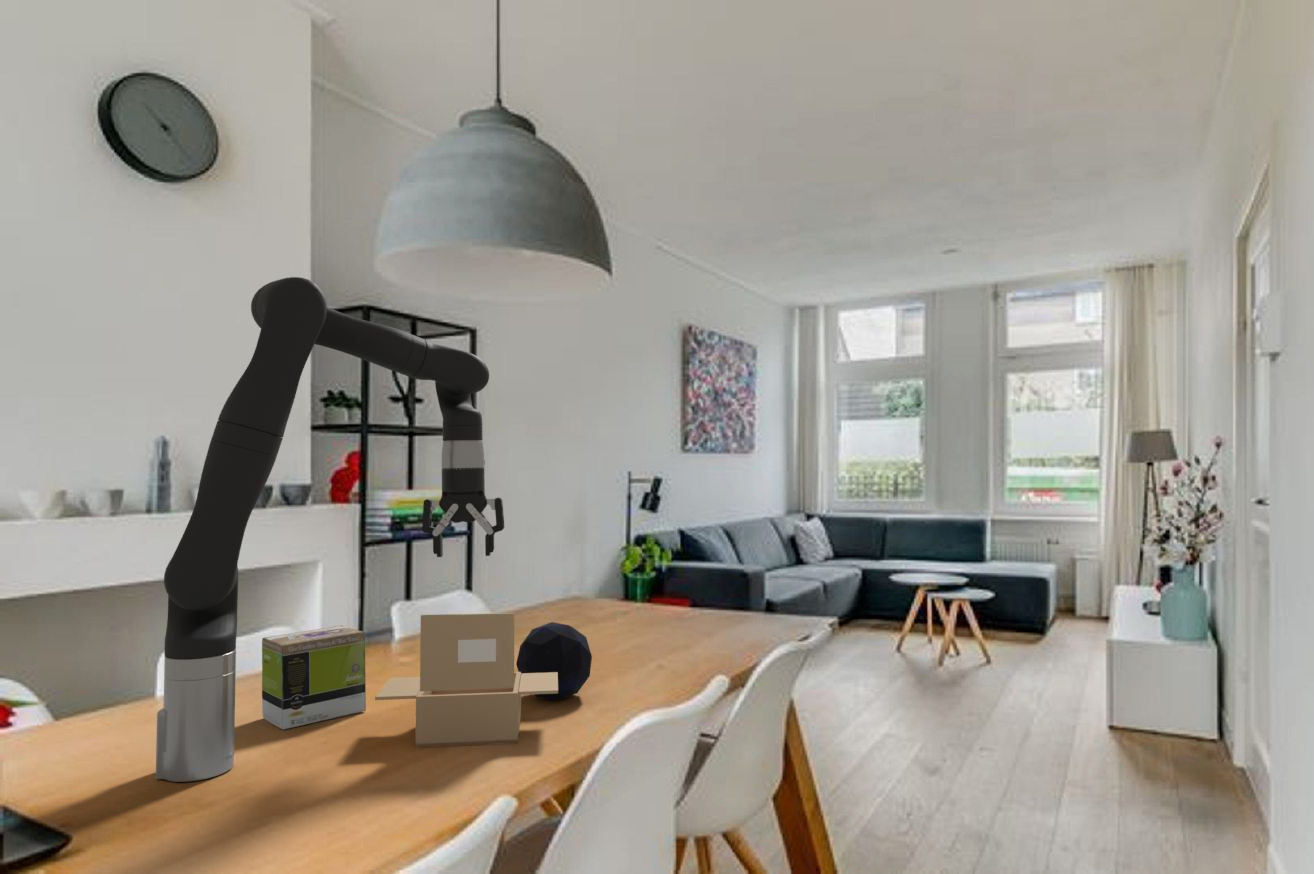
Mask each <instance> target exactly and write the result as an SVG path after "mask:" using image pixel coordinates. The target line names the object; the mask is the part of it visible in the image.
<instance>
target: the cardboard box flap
mask: <svg viewBox="0 0 1314 874" xmlns="http://www.w3.org/2000/svg"><path fill="white" fill-rule="evenodd" d="M515 615H516V614H515V612H500V613H499V612H495V613H491V612H490V613H489V612H488V613H457V614H456V613H453V614H449V613H448V614H445V613H444V614H421V615H420V635H419V636H420V644H419V647H420V649H419V650H420V655H419V656H420V657H419V660H420V661H419V665H420V666H419V677H420V691H448V690H476V689H504V688H514V672H515V618H516V617H515Z"/></svg>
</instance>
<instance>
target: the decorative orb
mask: <svg viewBox="0 0 1314 874" xmlns="http://www.w3.org/2000/svg"><path fill="white" fill-rule="evenodd" d="M592 660H593V656H592V653H591V649H590V645H589V642H588V639H587V636H585V634H583V633H581V632H580V631H578V629H576V628H574V627H573V626H571V625H569V624H565V623H559V622H552V621H551V622H548V623H546V624H542V625H540V626H537V627H534V628H532V629H531V630H530V632H529V633H528V634H527V636H526V637H525V638H524V640H523V641H522V643H521V644H520V645H519V650H518V654H517V659H516V663H515V664H516V667H517V672H521V673H549V672H558V693H555V694H533V695H534V696H535V697H536V698H541V699H544V700H545V699H546V700H551V701H555V702H558V701H561V700H563V699H566V698H569V697H570V696H573V695H575V694H578V692H579V691H580V690H581V689H582V687H583V686H584V684H585V683H586V682H587V681H588V679H589V677H590V675H591V667H592Z"/></svg>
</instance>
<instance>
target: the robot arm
mask: <svg viewBox="0 0 1314 874" xmlns="http://www.w3.org/2000/svg"><path fill="white" fill-rule="evenodd" d="M250 311H251V315H252V318H253V320H254V322H255V324H256V325H257V326H258V327H259V328H260V331H259V335H258V339H257V342H256V347H255V348H254V352H253V355H252V358H251V359H250V361H249V363H248V365H247V367H246V369H245V370H244V372H243V373H242V375H241V377H240V378H239V379H238V381H237V383H236V384H235V385H234V388H233V389H232V391H231V392H230V394H229V395H228V397H227V399H226V400H225V403H224V404H223V407H222V409H221V411H220V413H219V416H218V418H217V422H216V424H215V427H214V429H213V433H212V435H211V439H210V442H209V444H208V445H209V446H208V449H207V453H206V457H205V459H204V463H203V468H202V472H201V475H200V481H199V484H198V488H197V489H198V491H197V495H196V499H195V504H194V507H193V510H192V512H191V515H190V518H189V521H188V523H187V525H186V527H185V530H184V532H183V533H182V537H181V538H180V540H179V542H178V545H177V546H176V549H175V551H174V553H173V554H172V557H171V558H170V560H169V561H168V564H167V565H166V568H165V570H164V576H163V584H164V590H165V592H166V593H167V597H168V599H167V620H166V621H167V622H166V631H165V637H164V653H163V654H164V666H163V667H164V668H163V670H164V671H163V672H164V673H163V675H164V676H163V708H161V709H159V710H158V712H157V713H156V736H155V738H156V740H155V741H156V742H155V746H156V747H155V780H166V781H168V782H176V783H177V782H183V783H184V782H193V781H194V782H195V781H202V780H206V779H211V778H212V777H213V778H214V777H216V776H217V777H218V776H220V775H222V774H224V773H226V772H228V771H230V770H231V769H232V768H233V767H234V766H235V765H234V764H235V728H236V727H235V723H236V722H235V721H236V720H235V719H236V718H235V717H236V713H235V712H236V674H237V673H236V669H237V668H236V665H237V664H236V663H237V659H236V658H237V657H236V655H237V649H236V648H237V632H238V631H237V630H238V628H237V627H238V604H239V603H238V599H239V598H238V596H239V567H238V563H239V558H240V554H241V553H240V552H241V550H242V549H241V547H242V543H243V539H244V537H245V532H246V528H247V526H248V522H249V519H250V517H251V515H252V512H253V510H254V508H255V506H256V504H257V503H258V500H259V498H260V496H261V495H262V492H263V491H264V488H265V486H266V484H267V481H268V480H269V477H270V474H271V473H272V470H273V468H274V465H275V462H276V461H277V457H278V455H279V451H280V448H281V445H282V441H283V438H284V435H285V432H286V428H287V424H288V421H289V418H290V414H291V411H292V408H293V405H294V401H295V399H296V395H297V391H298V387H299V382H300V380H301V377H302V374H303V371H304V369H305V366H306V364H307V361H308V359H309V357H310V354H311V352H312V351H313V348H314V345H318V346H321V347H325V348H328V349H332V350H335V351H338V352H341V353H343V354H347V355H351V356H353V357H355V358H358V359H361V360H364V361H366V362H369V363H372V364H373V365H377V366H380V367H382V368H384V369H387V370H390V371H392V372H395V373H398V374H401V375H404V376H406V377H408V378H412V379H416V380H420V381H434V382H435V383H434V386H435V391H436V397H437V401H438V405H439V409H440V413H441V416H442V417H441V418H442V448H441V497H440V499H432V498H427V499H424V500H423V502H422V503H423V507H422V508H423V509H422V527H421V530H422V532H423V533H424V534H429V535H431V537H432V548H433V549H432V551H433V554H434V555H436V557H437V558H442V557H443V555H444V554H443V553H444V552H443V549H444V548H443V546H444V545H443V535H442V534H443V532H444V530H445V529H446V527H447V526H448V525H449V524H450V522H452V523H461V522H462V523H463V522H465V523H473V522H475V521H476V522H477V523H478V525H479V526H480V527H481V528H482V529H483V531H484V532H485V533H486V534H485V535H484V538H485V539H484V540H485V541H484V547H485V557H489V556H491V555H492V554H491V553H494V550H495V534H496V533H498V532H501V531H503V530H504V529H505V517H504V502H503V501H504V500H503V498H502V497H499V496H498V497H495V498H487V496H486V491H485V489H486V488H485V486H486V485H485V464H486V460H485V451H484V444H483V417H482V413H481V412H480V411H479V410H478V409H476V408H475V407H473V402H472V397H471V395H472V394H476V393H478V392H480V391H482V390H483V389H484V388H485V387H486V386H487V384H489V380H490V370H489V368H488V366H487V364H486V362H484V361H483V360H482V358H480V357H479V356H477V355H475V354H473V353H472V352H468V351H466V350H465V351H464V350H461V349H458V348H453V347H449V346H445V345H441V344H437V343H434V342H431V341H428V340H427V339H424V338H423V337H422V338H421V337H419V336H416V335H414V334H412V333H409V332H407V331H405V330H402V329H398V328H395V327H392V326H388V325H385V324H380V323H376V322H373V321H369V320H365V319H362V318H358V317H355V316H352V315H348V314H346V313H343V312H340V311H338V310H335V309H333V308H331V307H329V306H328V305H327V301H326V297H325V294H324V293H323V291H322V289H321V288H320V287H319V286H318V285H317V284H316V283H315V282H314V281H312V280H310V279H308V278H304V277H298V276H296V277H295V276H291V277H284V278H280V279H277V280H273V281H271V282H268V283H267V284H264V285H262V286H261V287H260V288H259V289H258V290H257V291H256V292H255V293H254V295H253V297H252V300H251V304H250ZM488 505H489V507H490V509H491V510H492V511H494V512H495V525H492V524H491V523H490V522H489V520H488V518H487V517H486V516H485V515H484V514H483V511H484V510H485V508H486V507H487V506H488ZM438 506H439V507H440V509H441V510H442V511H443V512H444V515H443V517H442V518H441V519H440V521H439V522H438V523H437V525H436V526H435V527H434V526H432V524H433V523H432V521H433V512H435V511H436V510H437V507H438Z"/></svg>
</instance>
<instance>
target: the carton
mask: <svg viewBox="0 0 1314 874" xmlns="http://www.w3.org/2000/svg"><path fill="white" fill-rule="evenodd" d="M555 693H558V672H549V673H521V672H518V671H514V688H504V689H476V690H448V691H420V676H408V677H403V676H402V677H389V679H388V680H387V681H386V682H385V684H384V685H383V686H382V687H381V689H380V690H379V692H378V693H377V694H376V695H375V697H374V700H375V701H388V700H390V701H391V700H415V749H417V748H418V749H419V748H420V749H421V748H436V747H437V748H440V747H442V748H443V747H445V748H446V747H462V746H463V747H464V746H483V745H485V746H486V745H488V746H489V745H490V746H491V745H507V744H518V741H519V733H520V727H521V720H522V719H521V717H522V715H521V713H522V695H526V696H527V695H528V696H529V695H534V694H555Z"/></svg>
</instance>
